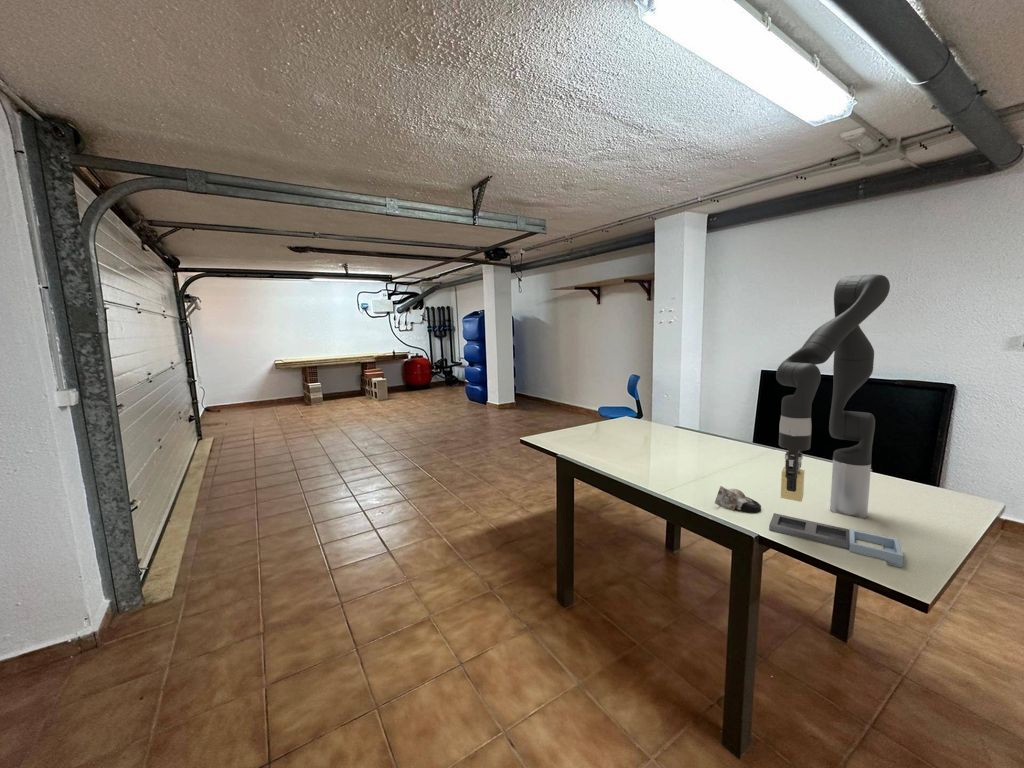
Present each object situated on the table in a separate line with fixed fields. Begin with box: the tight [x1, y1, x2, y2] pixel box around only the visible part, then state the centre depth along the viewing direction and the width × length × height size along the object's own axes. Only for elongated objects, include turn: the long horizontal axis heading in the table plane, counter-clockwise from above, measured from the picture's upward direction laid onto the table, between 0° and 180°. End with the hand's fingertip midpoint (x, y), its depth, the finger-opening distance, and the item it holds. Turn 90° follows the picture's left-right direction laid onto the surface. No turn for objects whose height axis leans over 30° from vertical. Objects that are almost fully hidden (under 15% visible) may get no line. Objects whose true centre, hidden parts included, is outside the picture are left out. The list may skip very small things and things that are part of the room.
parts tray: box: [848, 528, 904, 568], centre depth 104 cm, size 10×10×3 cm
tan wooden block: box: [780, 466, 805, 503], centre depth 115 cm, size 5×5×8 cm
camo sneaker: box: [714, 485, 762, 514], centre depth 132 cm, size 7×11×10 cm
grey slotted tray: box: [768, 512, 850, 550], centre depth 114 cm, size 10×18×2 cm, turn 50°
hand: (792, 487), depth 115 cm, fingers closed on tan wooden block, 5 cm apart
